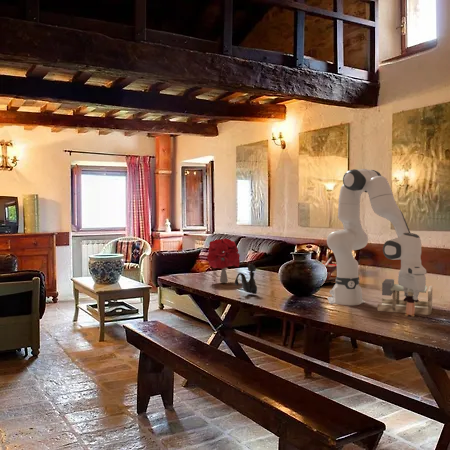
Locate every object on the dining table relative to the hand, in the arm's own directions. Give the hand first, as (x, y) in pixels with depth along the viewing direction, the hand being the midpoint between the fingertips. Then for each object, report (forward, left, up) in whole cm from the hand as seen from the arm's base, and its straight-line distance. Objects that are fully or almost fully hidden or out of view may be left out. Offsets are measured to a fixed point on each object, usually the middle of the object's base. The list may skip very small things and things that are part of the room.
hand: (410, 298), depth 226 cm
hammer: (-16, 0, +2) cm, 16 cm away
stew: (-103, -13, -9) cm, 104 cm away
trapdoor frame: (-16, 0, -8) cm, 18 cm away
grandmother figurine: (0, 0, -8) cm, 8 cm away
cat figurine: (-67, -69, -8) cm, 96 cm away
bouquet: (-114, -77, -8) cm, 138 cm away
